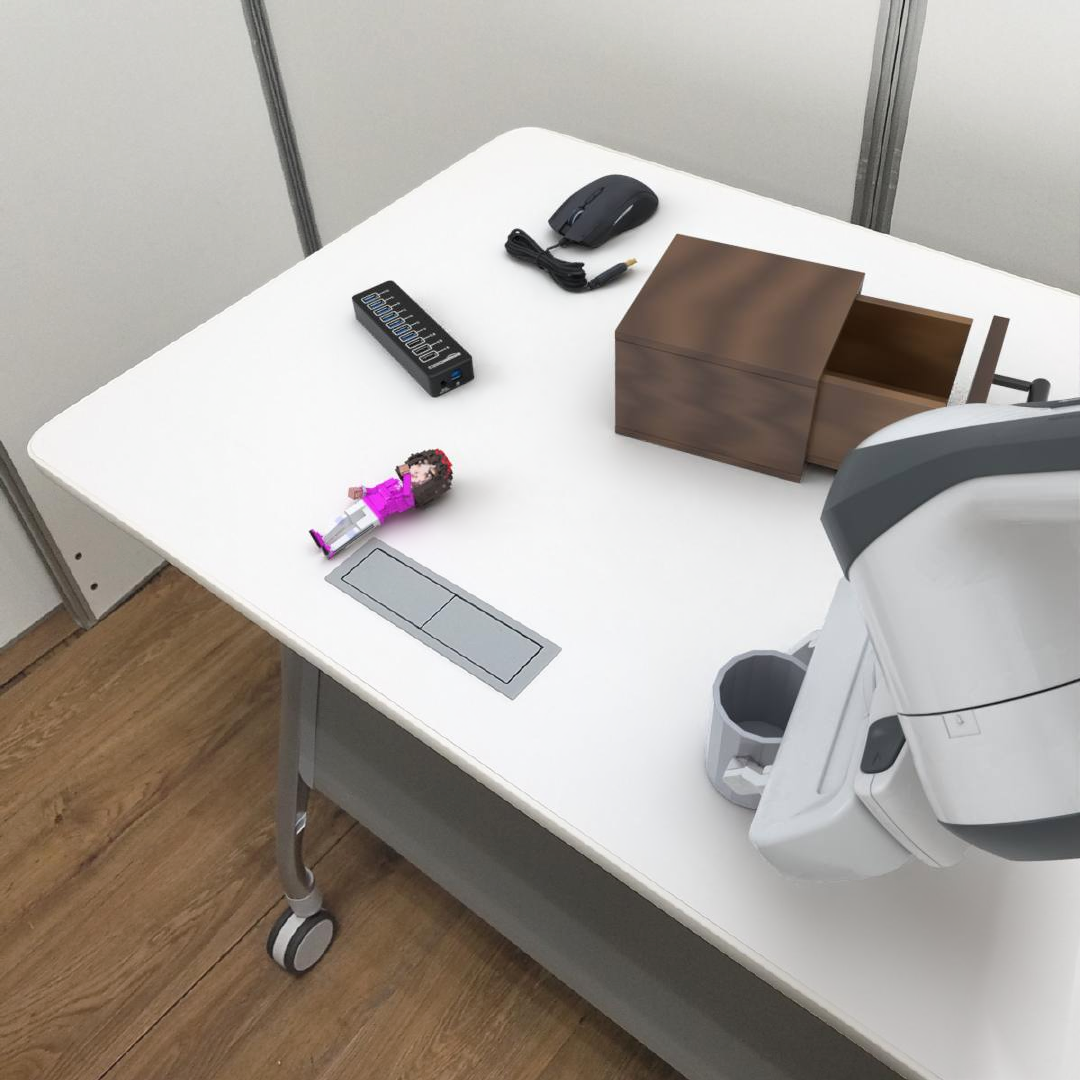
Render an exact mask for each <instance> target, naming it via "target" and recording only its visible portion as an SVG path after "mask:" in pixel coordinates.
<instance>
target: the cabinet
mask: <svg viewBox="0 0 1080 1080" xmlns="http://www.w3.org/2000/svg"><path fill="white" fill-rule="evenodd" d="M865 277H866V272H863V271H858V270H855V269H854V270H853V269H848V268H843V267H840V266H834V265H829V264H824V263H821V262H816V261H810V260H806V259H801V258H796V257H791V256H786V255H782V254H777V253H773V252H768V251H763V250H759V249H758V250H757V249H753V248H748V247H744V246H739V245H734V244H730V243H725V242H720V241H715V240H710V239H707V238H706V239H705V238H700V237H696V236H691V235H686V234H682V233H676V234H675V235H674V237H673V239H672V240H671V242H670V243H669V245H668V247H667V248H666V249H665V251H664V252H663V254H662V255H661V258H660V259H659V260H658V262H657V264H656V265H655V267H654V269H653V270H652V271H651V273H650V274H649V276H648V278H647V279H646V280H645V282H644V284H643V286H642V287H641V289H640V290H639V292H638V294H637V295H636V296H635V298H634V300H633V301H632V303H631V304H630V306H629V308H627V311H626V312H625V314H624V316H623V317H622V319H621V320H620V322H619V323H618V325H617V327H616V328H615V330H614V434H618V435H621V436H626V437H629V438H633V439H637V440H640V441H642V442H648V443H651V444H655V445H658V446H662V447H666V448H669V449H673V450H676V451H680V452H683V453H687V454H692V455H695V456H698V457H702V458H705V459H709V460H713V461H717V462H720V463H724V464H728V465H732V466H735V467H739V468H743V469H746V470H749V471H753V472H757V473H761V474H764V475H768V476H772V477H775V478H779V479H781V480H786V481H790V482H794V483H798V484H800V483H801V481H802V479H803V477H804V474H805V472H806V469H807V467H808V465H809V462H807V461H805V460H806V455H807V449H808V444H809V439H810V433H811V428H812V422H813V417H814V411H815V406H816V401H817V395H818V390H819V384H820V381H821V378H822V376H823V374H824V372H825V369H826V367H827V365H828V362H829V360H830V358H831V355H832V353H833V351H834V348H835V346H836V344H837V342H838V339H839V337H840V335H841V332H842V330H843V328H844V325H845V323H846V321H847V319H848V316H849V314H850V312H851V309H852V307H853V305H854V302H855V300H856V298H857V295H858V294H861V295H862V292H863V286H864V282H865Z"/></svg>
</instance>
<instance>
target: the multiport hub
mask: <svg viewBox="0 0 1080 1080" xmlns="http://www.w3.org/2000/svg"><path fill="white" fill-rule="evenodd" d="M351 302H352V306H353V311H354V316H355V319H356V320H357V321H358V322H359V323H360V324H361V325H362V327H364V328H365V329H366V330H367V331H368V333H369V334H370V335H371V336H372V337H373V338H374V339H375V340H376V341H377V342H378V343H379V344H380V345H381V346H382V348H384V350H386V352H388V354H389V355H391V356H392V357H393V358H394V359H395V361H397V362H398V363H399V365H400V366H402V368H403V369H404V370H405V371H406V372H407V373H408V374H409V375H410V376H411V377H412V378H413V379H414V380H415V381H416V382H417V383H418V384H419V385H420V386H421V387H422V388H423V390H424V391H426V393H428V395H429V396H430V397H432V398H437V397H440V396H442V395H444V394H445V393H448V392H450V391H452V390H454V389H456V388H458V387H461V386H462V385H464V384H467V383H469V382H471V381H472V380H474V379H475V371H474V369H475V368H474V361H473V355H472V354H470V353H469V352H468V351H467V350H466V349H465V348H464V347H463V346H462V345H461V344H460V343H459V342H458V341H457V340H456V339H455V338H454V337H452V335H450V334H449V332H447V330H446V329H445V328H443V327H442V325H440V324H439V323H438V322H437V321H436V320H435V319H434V318H433V317H432V316H431V315H430V314H428V312H426V310H424V309H423V308H422V307H421V306H420V305H419V304H418V303H417V302H416V301H415V300H414V299H413V298H412V297H411V296H410V295H409V294H408V293H407V292H406V291H405V290H403V288H401V286H400V285H398V283H396V282H395V280H392V279H391V280H389V279H388V280H385V281H384V282H381V283H379V284H376V285H374V286H372V287H369V288H367V289H365V290H363V291H360V292H358V293H356V294H354V295H352V296H351Z"/></svg>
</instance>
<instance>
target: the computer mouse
mask: <svg viewBox="0 0 1080 1080" xmlns="http://www.w3.org/2000/svg"><path fill="white" fill-rule="evenodd" d="M659 205H660V201H659V197H658V195H657V194H656V193H655V191H653V190H652V189H651V188H650V187H649V186H648V185H647V184H645V183H644V182H642V181H640V180H639V179H636V178H635V177H632V176H628V175H625V174H619V173H618V174H617V173H616V174H615V173H613V174H608V175H603V176H601V177H599V178H597V179H594V180H593V181H591V182H589V183H587V184H586V185H584V186H582V187H581V188H579V189H577V190H576V191H575V192H574V193H572V194H571V195H570V196H568V198H566V199H565V200H564V201H563V203H561V205H560V206H559V207H558V208H557V209H556V210H555V212H554V213H553V214H552V215H551V216H550V217H549V219H548V220H547V223H548V225H549V227H550V228H551V229H552V230H553V231H554V232H555V233H556V234H558V235H560V236H562V238H561V239H559V240H558V243H556V244H554V245H551V246H548V247H547V248H546V249H543V248H542V247H541V245H539V243H538V242H536V240H535V239H533V238H532V237H531V236H530V235H529V234H528V233H527V232H526V231H524V230H522V229H521V228H518V227H517V228H514V229H512V230H511V232H510V233H509V234H508V235H507V236H506V237H507V240H506V242H505V243H504V248H505V250H506V252H507V254H508V255H510V256H511V257H513V258H516V259H520V260H525V261H526V262H527V261H528V262H532V263H535V264H536V266H537V267H538V269H539V270H545V271H546V272H547V273H548V274H549V277H551V278H552V280H553V281H554V282H555V283H556V285H558V286H559V287H561V288H563V289H566V290H568V291H573V292H574V291H575V292H581V291H586V290H588V289H590V290H591V291H592V290H594V289H596V288H597V287H599V286H602V285H604V284H605V283H608V282H610V281H611V280H613V279H614V278H616V277H618V276H620V275H622V274H623V273H625V272H627V271H628V269H629V268H630V267H632V266H634V265H635V264H637V263H638V261H637V259H636V258H635V257H634V258H631V259H628V260H627V261H625V262H619V263H616V264H615V265H613V266H612V267H609V268H608V269H606V270H604V271H603V272H600V274H598V275H596V276H594V278H592V279H591V280H590V281H588V279H587V277H586V276H587V272H586V270H585V269H583V268H584V267H585V265H586V264H585V262H582V261H574V262H572V261H567V260H562V259H559V258H557V257H555V256H554V255H553V254H552V253H551V250H553V249H556V248H559V247H564V246H565V245H566V244H568V243H570V242H573V243H578V244H581V245H584V246H587V247H591V248H597V247H599V246H600V245H602V244H603V243H605V242H606V241H607V240H608V239H610V238H612V237H613V236H615V235H617V234H619V233H622V232H623V231H626V230H629V229H631V228H634V227H636V226H638V225H640V224H641V223H643V222H645V221H646V220H648V219H649V218H650V217H651V216H652V215H653V214H654V213H655V212H656V210H657V208H658V206H659Z"/></svg>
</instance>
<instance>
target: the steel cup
mask: <svg viewBox="0 0 1080 1080" xmlns="http://www.w3.org/2000/svg"><path fill="white" fill-rule="evenodd" d="M807 668H808V666H807V665H806V664H804V663H803V662H801V661H800V660H799V659H797V658H796V657H794V656H791V655H788V654H785V653H784V652H781V651H778V650H774V649H753V650H750V651H746V652H743V653H741V654H738V655H735V656H733V657H732V658H731V659H730V660H728V661H727V662H726V663H725V664H724V665H722V667H721V668H720V669H719V670H718V672H717V674H716V677H715V680H714V682H713V684H712V688H711V690H712V691H711V698H710V705H709V715H708V723H707V732H706V741H705V747H704V748H705V749H704V755H705V757H704V758H705V759H704V763H705V770H706V773H707V776H708V778H709V780H710V782H711V784H712V785H713V787H714V788H715V789H716V790H717V792H718V793H720V794H721V795H722V796H723V797H724V798H725V799H727V800H728V801H730V802H732V803H733V804H736V805H738V806H741V807H743V808H747V809H753V810H757V808H758V805H759V802H760V799H761V797H762V796H761V795H760V794H759V793H757V794H748V795H740V794H737V793H735V792H734V791H733V790H732V789H731V788H730V787H729V786H728V785H727V784H725V783H724V782H723V779H722V778H723V776H724V773H725V771H726V768H727V766H728V764H729V761H730V759H731V758H732V757H735V756H736V757H737V758H739V757H740V756H745V755H750V756H751V757H752V758H753V759H754V760H755V761H756V762H757V764H758V766H762V767H763V768H764V767H766V766H769V765H773V763H774V760H775V758H776V755H777V752H778V749H779V746H780V744H781V741H782V738H783V735H784V732H785V730H786V727H787V724H788V721H789V719H790V716H791V713H792V710H793V707H794V705H795V702H796V699H797V696H798V693H799V691H800V688H801V685H802V682H803V679H804V677H805V674H806V671H807Z"/></svg>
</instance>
